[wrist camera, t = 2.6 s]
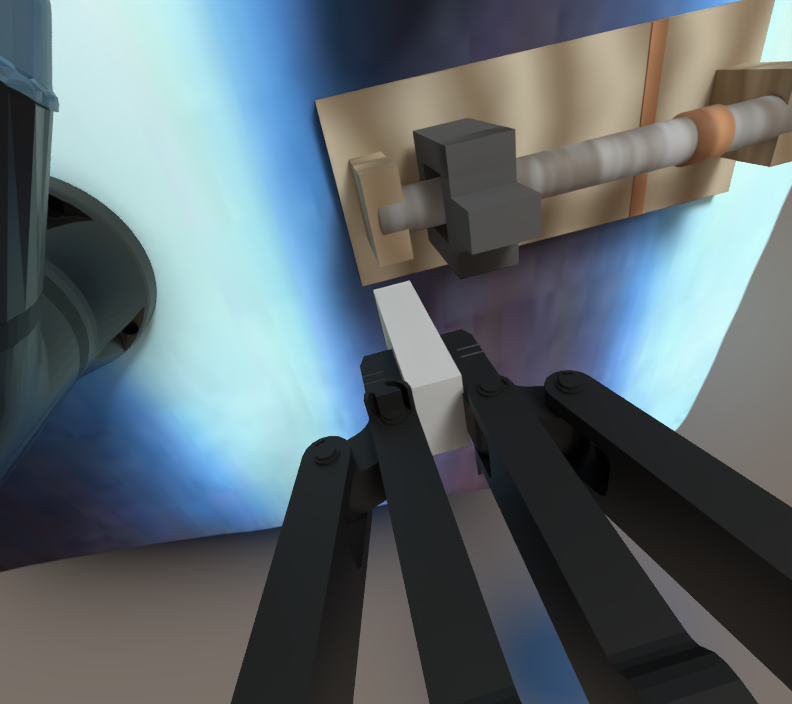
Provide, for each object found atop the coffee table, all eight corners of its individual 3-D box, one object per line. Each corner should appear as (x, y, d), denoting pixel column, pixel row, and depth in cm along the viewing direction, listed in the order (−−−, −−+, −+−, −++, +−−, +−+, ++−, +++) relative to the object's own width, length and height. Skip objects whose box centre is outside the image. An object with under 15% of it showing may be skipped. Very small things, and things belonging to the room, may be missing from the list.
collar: (428, 240, 34) (476, 299, 25) (412, 131, 30) (462, 154, 21) (476, 228, 35) (540, 282, 25) (467, 117, 30) (541, 135, 21)
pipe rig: (361, 280, 38) (375, 325, 31) (314, 99, 30) (319, 106, 23) (717, 188, 40) (805, 211, 33) (761, -5, 32) (888, -27, 25)
